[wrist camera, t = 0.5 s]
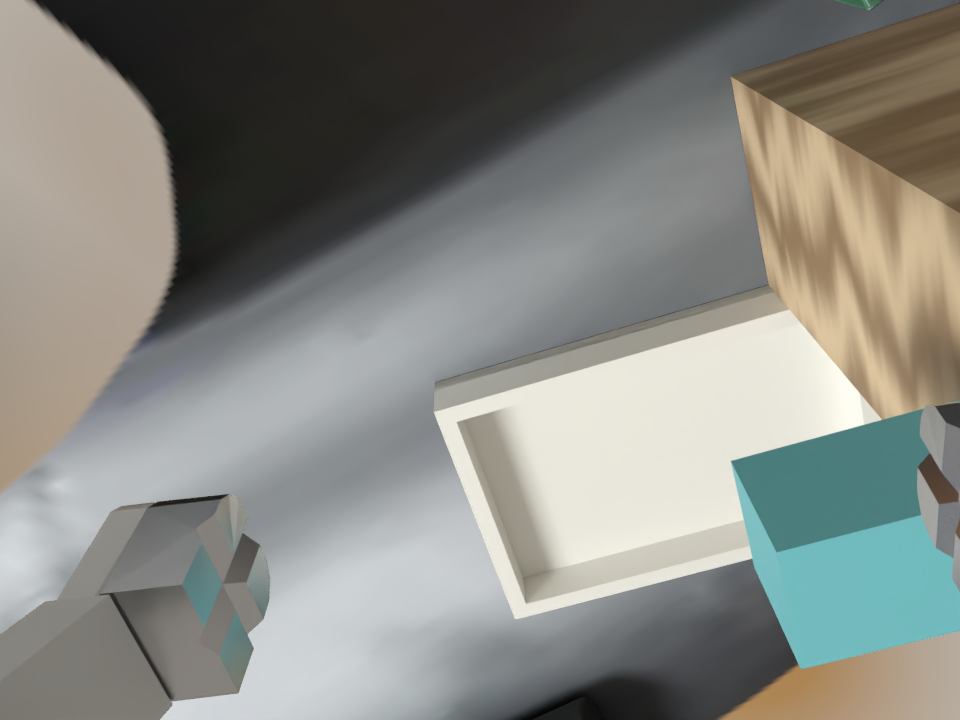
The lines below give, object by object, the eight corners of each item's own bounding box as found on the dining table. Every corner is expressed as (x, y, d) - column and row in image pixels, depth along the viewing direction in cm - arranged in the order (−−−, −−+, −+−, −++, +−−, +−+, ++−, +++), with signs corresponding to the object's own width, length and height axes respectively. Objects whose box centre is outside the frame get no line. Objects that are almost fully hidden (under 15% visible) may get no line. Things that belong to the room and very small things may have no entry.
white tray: (435, 382, 53) (433, 412, 50) (839, 264, 50) (864, 287, 47) (512, 582, 60) (515, 619, 57) (871, 488, 57) (895, 521, 54)
